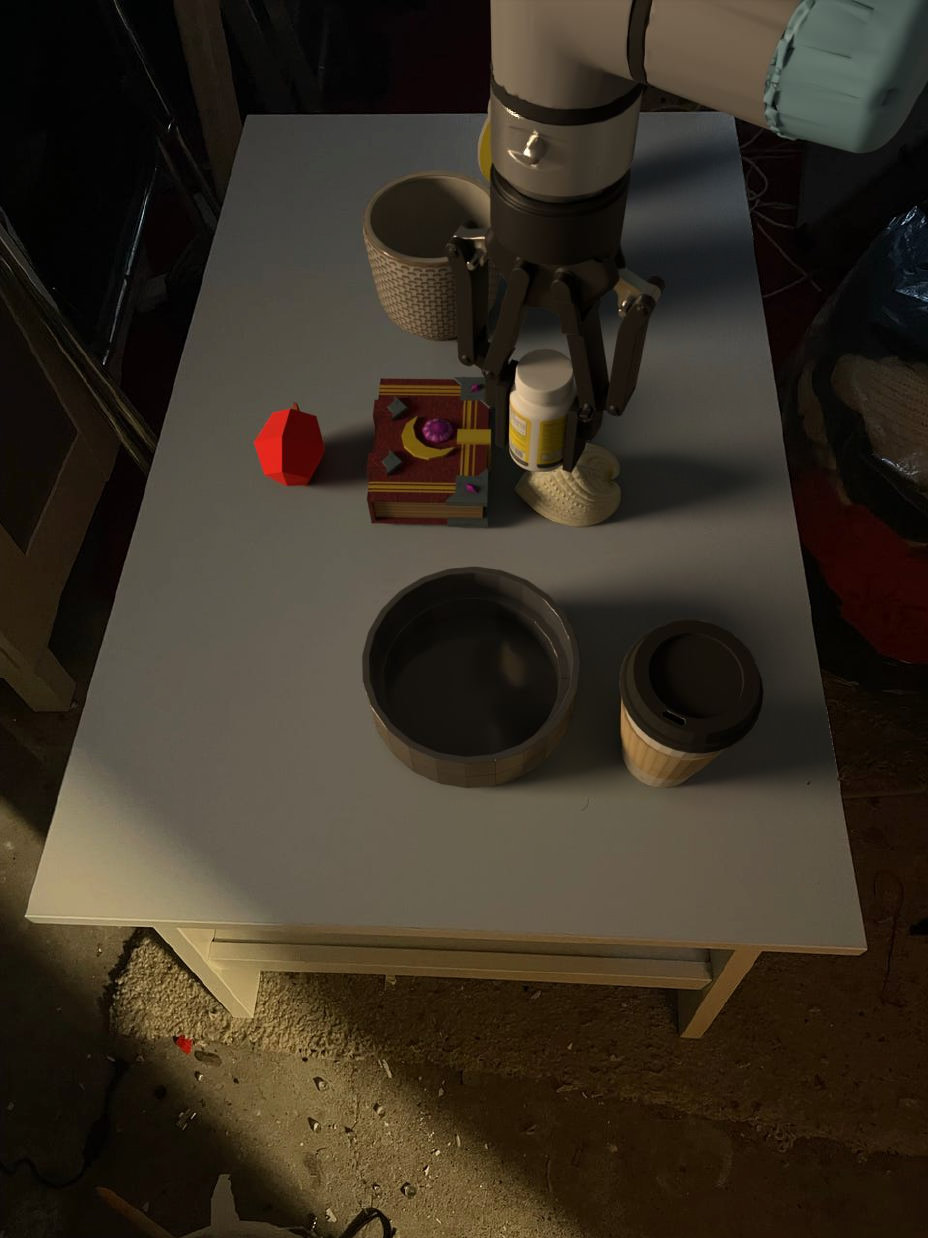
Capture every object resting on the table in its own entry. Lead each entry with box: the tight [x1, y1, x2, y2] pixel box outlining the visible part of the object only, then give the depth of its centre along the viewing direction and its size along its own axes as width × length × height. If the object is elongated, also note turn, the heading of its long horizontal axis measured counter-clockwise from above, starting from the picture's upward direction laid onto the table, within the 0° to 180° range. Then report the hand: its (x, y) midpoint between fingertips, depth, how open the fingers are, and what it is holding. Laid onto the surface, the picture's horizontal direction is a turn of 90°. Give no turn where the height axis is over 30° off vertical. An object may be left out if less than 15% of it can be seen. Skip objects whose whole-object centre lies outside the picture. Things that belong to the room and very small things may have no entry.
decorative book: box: [365, 376, 492, 529], centre depth 86 cm, size 11×16×5 cm
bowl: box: [361, 566, 581, 789], centre depth 73 cm, size 17×17×6 cm
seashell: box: [514, 442, 622, 528], centre depth 83 cm, size 8×8×8 cm
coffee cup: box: [618, 619, 764, 789], centre depth 67 cm, size 10×10×15 cm
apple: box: [253, 401, 326, 487], centre depth 86 cm, size 7×7×8 cm
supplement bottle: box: [508, 348, 578, 472], centre depth 64 cm, size 5×5×8 cm
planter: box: [362, 169, 501, 342], centre depth 92 cm, size 14×14×13 cm
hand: (540, 445), depth 68 cm, fingers closed on supplement bottle, 5 cm apart
